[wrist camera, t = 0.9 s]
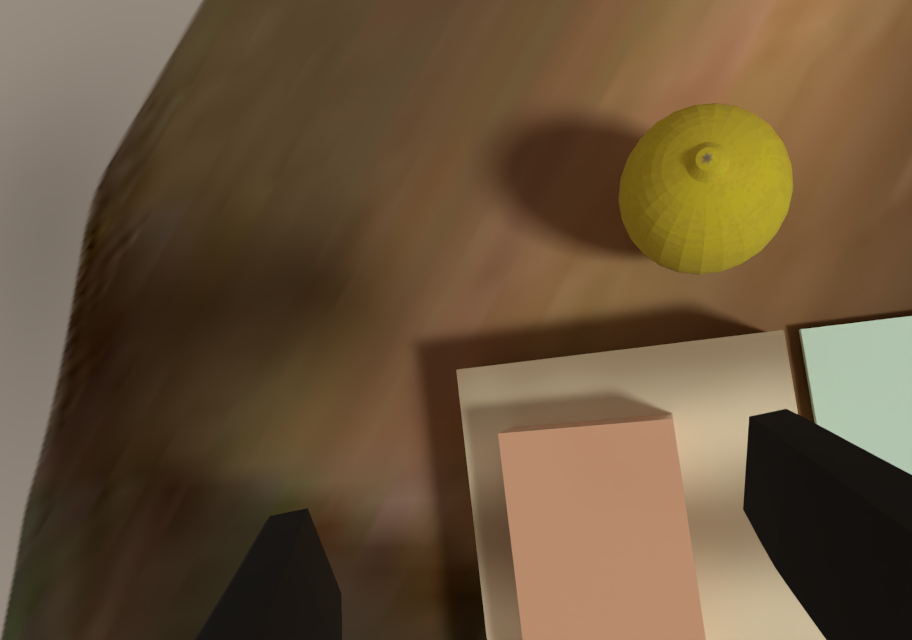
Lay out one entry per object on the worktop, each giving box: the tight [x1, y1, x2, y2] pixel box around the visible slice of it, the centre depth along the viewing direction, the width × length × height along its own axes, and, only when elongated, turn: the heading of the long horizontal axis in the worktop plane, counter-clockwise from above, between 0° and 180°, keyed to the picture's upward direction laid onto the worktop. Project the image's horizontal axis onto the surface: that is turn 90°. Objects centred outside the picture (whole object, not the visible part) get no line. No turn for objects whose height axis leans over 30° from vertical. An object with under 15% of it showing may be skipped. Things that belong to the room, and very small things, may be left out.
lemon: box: [618, 103, 793, 274], centre depth 21 cm, size 6×6×8 cm
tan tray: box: [456, 330, 826, 640], centre depth 24 cm, size 14×12×3 cm
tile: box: [498, 414, 706, 640], centre depth 22 cm, size 9×6×2 cm, turn 8°
